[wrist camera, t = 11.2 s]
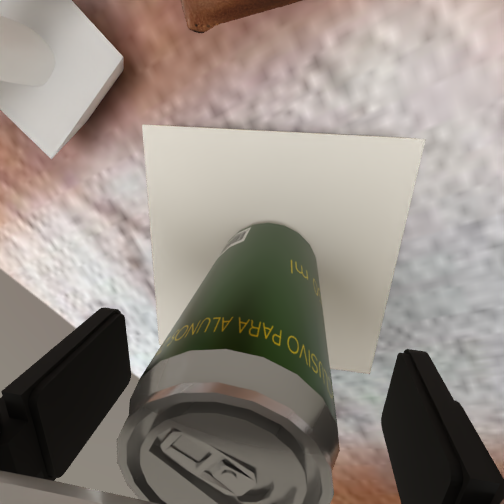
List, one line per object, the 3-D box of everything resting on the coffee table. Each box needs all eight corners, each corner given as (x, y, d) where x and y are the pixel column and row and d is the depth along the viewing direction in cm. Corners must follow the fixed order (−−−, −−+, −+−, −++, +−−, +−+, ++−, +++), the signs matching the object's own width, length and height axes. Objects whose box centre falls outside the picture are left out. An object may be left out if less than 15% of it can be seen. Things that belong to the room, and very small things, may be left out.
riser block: (359, 335, 23) (369, 374, 20) (180, 313, 25) (159, 344, 21) (400, 137, 18) (425, 139, 15) (171, 125, 20) (142, 124, 16)
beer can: (206, 270, 19) (72, 471, 8) (259, 199, 17) (179, 333, 6) (278, 320, 19) (248, 576, 8) (337, 257, 17) (403, 484, 6)
